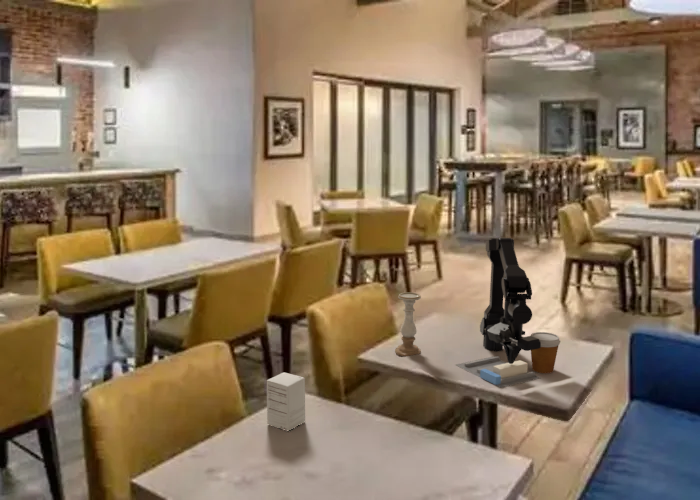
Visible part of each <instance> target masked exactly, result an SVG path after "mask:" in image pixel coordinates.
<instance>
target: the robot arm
mask: <svg viewBox="0 0 700 500" xmlns="http://www.w3.org/2000/svg"><path fill="white" fill-rule="evenodd" d="M485 252H486V255H487V258H488V259H489V260H490V263H491V267H490V286H489V287H490V288H489V289H490V290H489V304H488V306H487V307H486V308H485V310H484V312H483V317H482V319H481V320H480V321H481V322H480V324H479V332H480V334H481V335H482V336H483V341H482V343H483V344H482V346H483V348H484V349H485V350H487V351H494V352H502V351H503V349H504V351H505V355H506V358H507V362H509V363H510V364H513V363H514V361H516V359H517V357H518V356H519V354H520V352H521V351H522V350H523V351H524V352H525V351H526V352H527V351H529V352H530V351H531V350H534V349H539V348H541V341H540V340H539V339H538V338H535V337H532V336H531V335H529V336H524V335H526V330H523V327H524V325H525V324H528V323H529V322H530V321H531V320H532V317H533V311H532V309H531V308H530V307H529V305H528V304H527V300H532V295H533V290H532V285H531V281H530V279H529V277H528V276H527V274H526V271H525V270H524V269H523V268H521V267H520V266H519V261H518V258H517V255H516V252H515V239H514V238H511V237H489V239H488V240H486V241H485Z"/></svg>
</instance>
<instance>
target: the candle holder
mask: <svg viewBox="0 0 700 500" xmlns="http://www.w3.org/2000/svg"><path fill="white" fill-rule="evenodd" d="M421 297H422V296H421V294H420V293H417V292H407V291H406V292H401V293H399V294H398V296H397V298H398V299H399V300H402V302H403V304H404V308H403V312H404V320H403V322H402V324H401V327H400V333H401V335H402V336H401V337H400V338H401V341H402V344H400V345H398V346H397V347H395V349H394V353H395V354H396V355H397V356H400V357H410V356H416V355H421V353H422V350H421V348H419V346H417V345H416V344H414V342H415V340H416V337H415V335H416V334H417V331H418V330H417V326H416V325H415V322H414V312H415V308H414V304H415V303H416V301H418V300H420V299H421Z"/></svg>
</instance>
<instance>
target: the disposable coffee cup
mask: <svg viewBox="0 0 700 500" xmlns="http://www.w3.org/2000/svg"><path fill="white" fill-rule="evenodd" d="M530 336H532V337H535V338H538V339H539V340H540V341H541V348H539V349H534V350H530V354H531V356H530V357H531V369H532V372H535V373H540V374H551V373H553V372H554V368H555V364H556V359H557V355H558V350H559V345H560V343H561V340H560V337H559V335H557V334H554V333H553V332H545V331H542V332H541V331H538V332H537V331H536V332H532V333H531V334H530Z"/></svg>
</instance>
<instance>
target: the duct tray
mask: <svg viewBox="0 0 700 500" xmlns="http://www.w3.org/2000/svg"><path fill="white" fill-rule="evenodd" d="M505 363H509V362H508V361H507V362H506V361H504V360H501V356H498V355H497V356H490V357H486V358H480V359H476V360H470V361H467V362H466V361H465V362H461V363H457V364H455V366H456V367H458V368H459V369H463V370H464V371H466V372H469V373H470V374H472V375H474V376H477V377H478V378H480V379H482V380H484V381H486V382H488V383H491V384H493V385H495V386H496V387H499V388H501V389H503V388H506V387H511V386H515V385H519V384H522V383H526V382H531V381H535V380H540V379H541V377H540V376H537V375H536V372H535V371H529V372H528V371H527V373H524V374H520V375H515V376H511V377H507V378H502V379H501V376H500V375H498V374H496V373H493V366H496V365H501V364H505Z"/></svg>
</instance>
